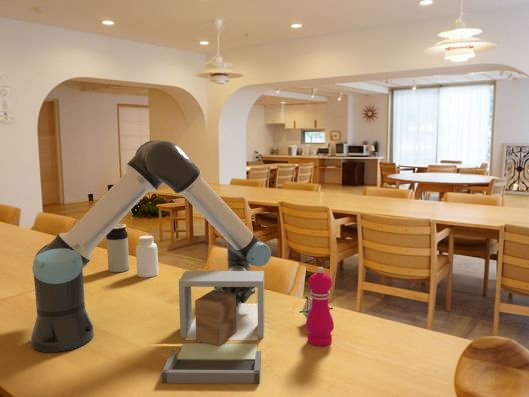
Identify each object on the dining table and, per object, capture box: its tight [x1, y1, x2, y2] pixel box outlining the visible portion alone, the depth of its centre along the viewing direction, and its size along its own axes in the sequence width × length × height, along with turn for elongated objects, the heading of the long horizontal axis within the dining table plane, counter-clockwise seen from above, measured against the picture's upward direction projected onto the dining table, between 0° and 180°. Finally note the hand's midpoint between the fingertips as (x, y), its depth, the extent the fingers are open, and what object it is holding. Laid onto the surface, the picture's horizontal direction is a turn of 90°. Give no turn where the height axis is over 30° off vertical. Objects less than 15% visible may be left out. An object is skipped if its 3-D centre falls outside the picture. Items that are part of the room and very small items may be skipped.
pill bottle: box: [135, 235, 159, 279], centre depth 178 cm, size 8×8×15 cm
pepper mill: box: [305, 266, 335, 347], centre depth 121 cm, size 7×7×20 cm
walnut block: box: [194, 289, 237, 346], centre depth 123 cm, size 9×7×11 cm
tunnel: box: [178, 270, 265, 341], centre depth 133 cm, size 26×22×16 cm
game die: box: [299, 295, 334, 319], centre depth 133 cm, size 9×8×10 cm
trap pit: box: [161, 350, 262, 385], centre depth 107 cm, size 10×21×2 cm, turn 89°
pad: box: [177, 342, 258, 360], centre depth 118 cm, size 12×19×1 cm, turn 89°
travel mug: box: [105, 223, 130, 274], centre depth 185 cm, size 8×8×18 cm
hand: (229, 308), depth 127 cm, fingers closed
